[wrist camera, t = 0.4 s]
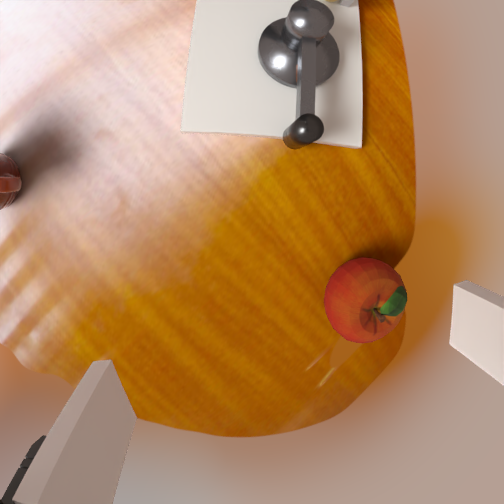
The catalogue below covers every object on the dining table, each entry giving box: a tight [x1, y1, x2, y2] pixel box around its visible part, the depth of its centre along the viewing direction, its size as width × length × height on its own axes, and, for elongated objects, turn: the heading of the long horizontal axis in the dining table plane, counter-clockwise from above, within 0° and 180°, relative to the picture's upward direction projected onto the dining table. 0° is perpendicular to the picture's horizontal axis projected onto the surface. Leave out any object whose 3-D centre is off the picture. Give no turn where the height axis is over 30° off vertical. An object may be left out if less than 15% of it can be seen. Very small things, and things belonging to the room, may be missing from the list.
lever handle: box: [258, 0, 340, 149], centre depth 27 cm, size 19×9×6 cm, turn 177°
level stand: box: [181, 0, 363, 149], centre depth 27 cm, size 22×20×8 cm
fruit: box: [324, 257, 407, 343], centre depth 33 cm, size 10×10×10 cm
